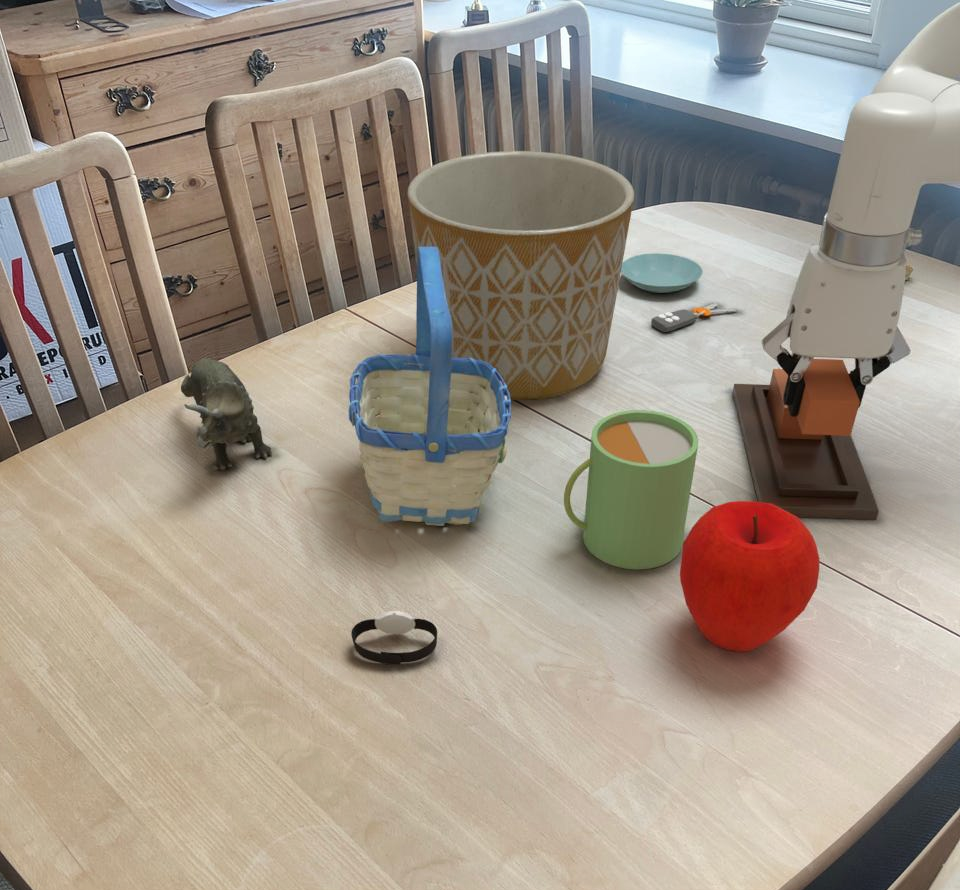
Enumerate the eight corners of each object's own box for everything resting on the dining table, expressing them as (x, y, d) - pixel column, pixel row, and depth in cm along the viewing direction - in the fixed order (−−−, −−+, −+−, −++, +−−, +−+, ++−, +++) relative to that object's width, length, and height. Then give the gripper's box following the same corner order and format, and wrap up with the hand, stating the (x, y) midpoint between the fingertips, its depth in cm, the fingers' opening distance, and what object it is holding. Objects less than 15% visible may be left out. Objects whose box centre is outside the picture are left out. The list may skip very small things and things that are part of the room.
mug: (663, 503, 112) (678, 404, 104) (695, 563, 104) (713, 461, 96) (549, 515, 110) (554, 415, 102) (572, 577, 103) (580, 474, 95)
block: (788, 391, 115) (795, 357, 112) (834, 392, 114) (843, 359, 112) (801, 434, 108) (810, 399, 105) (850, 436, 108) (860, 401, 105)
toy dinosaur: (184, 404, 127) (165, 317, 119) (253, 394, 129) (239, 307, 121) (205, 505, 112) (185, 412, 104) (284, 491, 114) (270, 399, 106)
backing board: (732, 392, 129) (739, 353, 126) (830, 395, 129) (840, 356, 125) (761, 515, 110) (770, 474, 107) (876, 519, 110) (889, 478, 106)
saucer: (602, 283, 153) (603, 267, 151) (654, 260, 159) (656, 245, 157) (664, 309, 146) (666, 293, 145) (716, 284, 152) (719, 269, 151)
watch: (438, 632, 97) (437, 602, 94) (437, 667, 93) (436, 637, 91) (354, 633, 97) (351, 603, 94) (351, 668, 93) (348, 638, 91)
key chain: (666, 335, 141) (668, 325, 140) (648, 325, 143) (649, 315, 142) (737, 312, 146) (739, 302, 145) (719, 302, 148) (721, 292, 147)
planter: (624, 324, 143) (641, 156, 128) (608, 423, 124) (625, 240, 109) (438, 310, 146) (433, 144, 131) (394, 403, 127) (383, 223, 112)
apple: (800, 603, 100) (832, 486, 91) (799, 688, 91) (834, 569, 82) (675, 585, 102) (694, 469, 93) (663, 667, 93) (683, 548, 84)
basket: (517, 542, 107) (523, 326, 91) (356, 548, 106) (335, 332, 90) (500, 434, 122) (503, 233, 106) (359, 439, 121) (341, 237, 105)
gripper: (943, 228, 101) (892, 396, 114) (766, 223, 102) (733, 390, 114) (965, 260, 96) (908, 433, 108) (777, 253, 96) (742, 426, 109)
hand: (819, 409), depth 111 cm, fingers closed on block, 5 cm apart
